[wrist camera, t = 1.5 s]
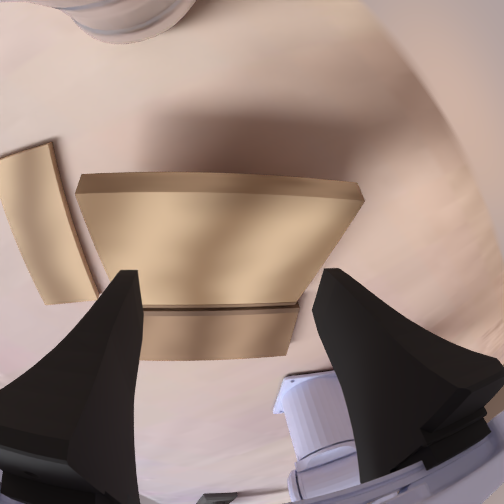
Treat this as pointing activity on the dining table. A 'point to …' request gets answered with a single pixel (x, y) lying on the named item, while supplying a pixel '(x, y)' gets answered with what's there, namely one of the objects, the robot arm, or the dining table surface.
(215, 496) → the faucet
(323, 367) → the dining table surface
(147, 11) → the plastic bottle
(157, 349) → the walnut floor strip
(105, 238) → the oak plank
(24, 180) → the plank
